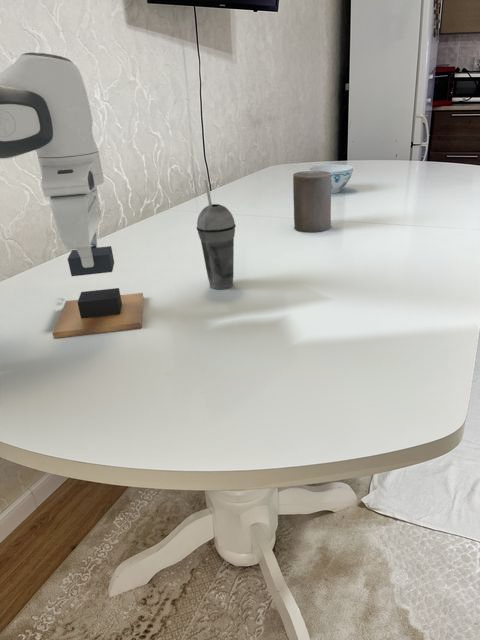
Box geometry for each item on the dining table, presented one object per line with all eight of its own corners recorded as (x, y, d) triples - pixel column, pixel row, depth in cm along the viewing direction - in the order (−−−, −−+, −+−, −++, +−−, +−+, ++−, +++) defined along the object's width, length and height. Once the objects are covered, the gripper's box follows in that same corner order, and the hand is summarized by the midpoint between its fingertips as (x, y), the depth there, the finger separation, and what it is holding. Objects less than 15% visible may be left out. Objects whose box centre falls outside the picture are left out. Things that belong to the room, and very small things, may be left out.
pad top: (71, 276, 85) (67, 258, 84) (75, 267, 90) (71, 250, 88) (112, 272, 86) (108, 254, 85) (114, 262, 90) (111, 246, 89)
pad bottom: (81, 318, 89) (77, 302, 87) (84, 307, 93) (81, 291, 92) (120, 314, 89) (117, 298, 88) (121, 303, 94) (119, 287, 92)
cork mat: (53, 338, 85) (52, 332, 84) (66, 306, 97) (65, 300, 96) (141, 328, 86) (140, 322, 86) (143, 297, 99) (142, 292, 98)
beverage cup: (245, 287, 101) (237, 180, 91) (208, 294, 98) (197, 184, 89) (233, 276, 107) (224, 174, 97) (198, 282, 104) (186, 178, 95)
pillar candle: (290, 232, 135) (288, 171, 128) (298, 222, 143) (297, 165, 136) (327, 233, 132) (327, 171, 125) (334, 223, 140) (335, 164, 134)
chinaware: (329, 185, 188) (329, 163, 185) (361, 190, 178) (362, 166, 174) (299, 192, 180) (298, 169, 176) (331, 198, 169) (331, 173, 166)
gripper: (62, 165, 89) (79, 245, 96) (38, 187, 71) (61, 282, 78) (100, 162, 90) (115, 241, 97) (85, 183, 72) (105, 278, 79)
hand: (91, 260), depth 87 cm, fingers closed on pad top, 5 cm apart
